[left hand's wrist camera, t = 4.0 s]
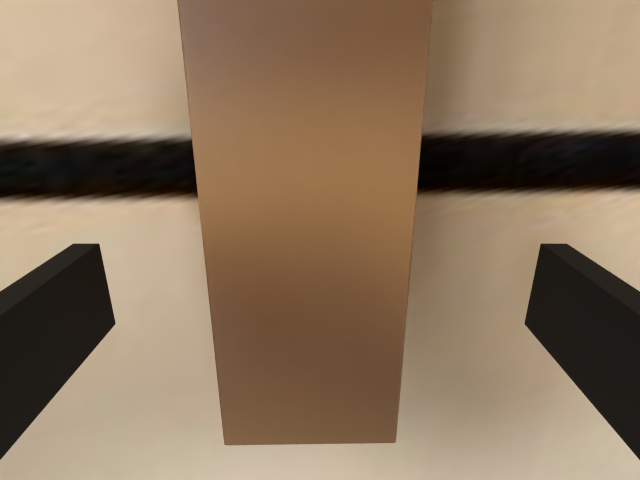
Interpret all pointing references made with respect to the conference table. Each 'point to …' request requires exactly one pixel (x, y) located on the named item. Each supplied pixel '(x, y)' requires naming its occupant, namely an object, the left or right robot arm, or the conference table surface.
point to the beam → (307, 207)
